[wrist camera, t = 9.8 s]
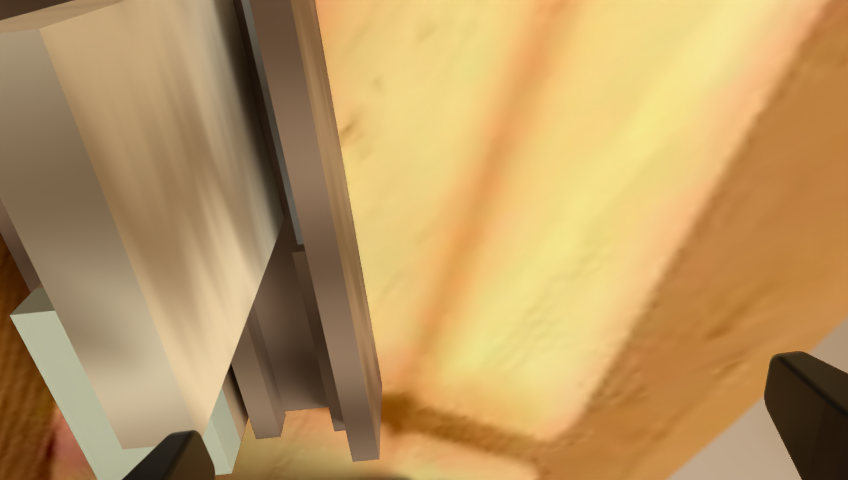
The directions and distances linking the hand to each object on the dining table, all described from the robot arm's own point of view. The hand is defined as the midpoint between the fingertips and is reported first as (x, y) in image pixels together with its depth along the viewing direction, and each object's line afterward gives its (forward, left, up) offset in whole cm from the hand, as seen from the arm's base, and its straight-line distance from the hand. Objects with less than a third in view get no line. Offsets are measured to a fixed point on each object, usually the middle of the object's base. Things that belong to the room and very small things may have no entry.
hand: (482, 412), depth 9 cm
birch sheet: (+2, +6, -12) cm, 14 cm away
